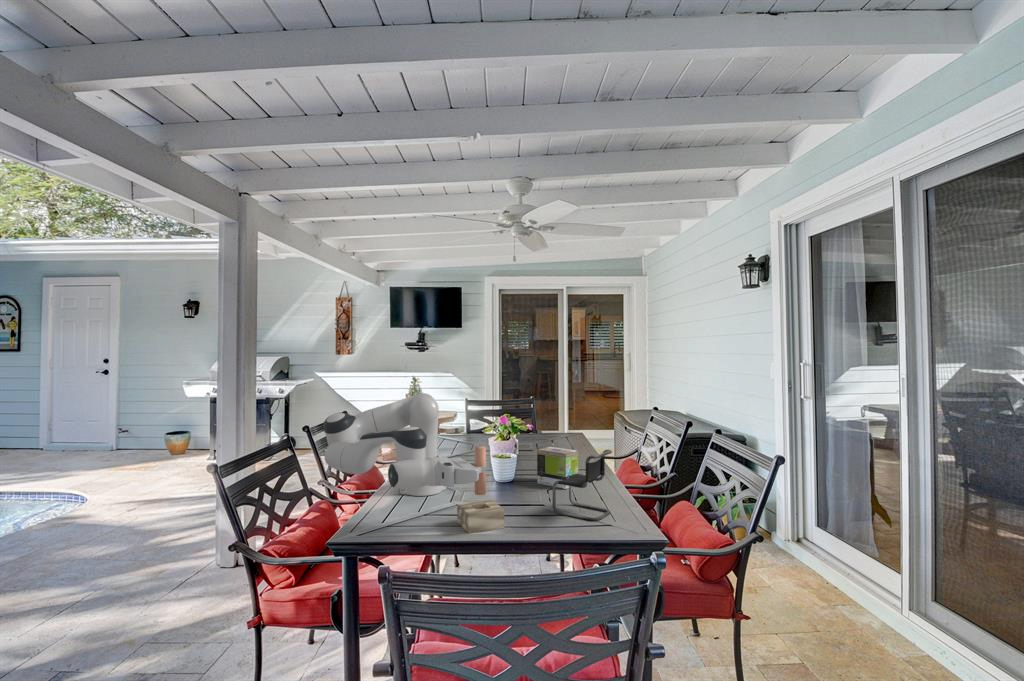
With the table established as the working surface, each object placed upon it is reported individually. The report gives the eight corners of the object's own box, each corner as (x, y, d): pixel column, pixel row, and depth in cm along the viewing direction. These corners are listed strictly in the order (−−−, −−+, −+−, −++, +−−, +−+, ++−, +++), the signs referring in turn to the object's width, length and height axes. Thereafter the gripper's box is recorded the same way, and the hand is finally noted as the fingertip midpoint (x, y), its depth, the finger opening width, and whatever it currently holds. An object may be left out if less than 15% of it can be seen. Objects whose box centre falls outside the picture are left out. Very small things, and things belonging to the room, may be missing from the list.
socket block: (457, 521, 172) (457, 503, 172) (491, 517, 176) (491, 499, 176) (468, 533, 160) (468, 514, 161) (504, 528, 165) (504, 509, 165)
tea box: (579, 485, 218) (579, 449, 218) (565, 490, 210) (565, 453, 210) (550, 479, 228) (550, 445, 228) (536, 483, 220) (536, 448, 220)
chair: (596, 522, 170) (596, 455, 171) (551, 513, 181) (551, 449, 181) (613, 512, 181) (613, 449, 181) (570, 504, 191) (570, 444, 191)
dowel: (473, 492, 169) (473, 446, 170) (483, 491, 171) (483, 446, 171) (476, 495, 166) (476, 448, 166) (487, 494, 167) (487, 448, 168)
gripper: (433, 473, 173) (472, 469, 178) (450, 488, 154) (493, 484, 160) (433, 454, 173) (472, 451, 178) (450, 467, 154) (493, 463, 160)
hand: (482, 467), depth 169 cm, fingers closed on dowel, 4 cm apart
